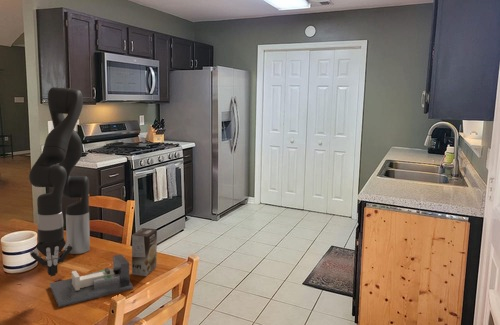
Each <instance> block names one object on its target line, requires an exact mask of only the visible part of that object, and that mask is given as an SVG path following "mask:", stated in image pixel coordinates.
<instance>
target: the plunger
mask: <svg viewBox="0 0 500 325" xmlns="http://www.w3.org/2000/svg"><path fill="white" fill-rule="evenodd" d="M109 269H110V268H109V267H105V268H104V270H105V271H104V272H99V271H98V272H99V273H95V274H90V273H89V274H90V275H89V274H85V275H81V276H80V274H79V273H78V272H77V270H72V271H71V278H72V285H73V287H74V289H75V291H77V290H80V288H83V287H87V286H91V285H93V280H94V279H98V278H103V277H104V276H109V275H111V276H112V275H114V272H113V271H112V270H109Z"/></svg>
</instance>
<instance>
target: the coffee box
mask: <svg viewBox="0 0 500 325" xmlns="http://www.w3.org/2000/svg"><path fill="white" fill-rule="evenodd" d="M157 241H158V229H156V228H148V227H147V228H145V227H143V228H141V229H138V230H137V231H136V232H134V233H133V234H131V275H134V276H141V277H147V276H149V274H150V273H152V271H154V270H155V269H156V268H157V259H158V258H157V254H158V251H157V249H158V242H157Z"/></svg>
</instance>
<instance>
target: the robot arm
mask: <svg viewBox="0 0 500 325" xmlns="http://www.w3.org/2000/svg"><path fill="white" fill-rule="evenodd" d="M83 105H84V97H83V93H82V91H81V90H80V89H76V88H70V87H69V88H68V87H67V88H66V87H56V86H54V87H51V88H49V90H48V93H47V106H48V110H49V114H50V119H51V121H52V126H53V129H51V130H50V131H49V133H48V134H47V136H46V138H45V141H44V145H43V148H42V151H41V153H40V155H39V156H38V158H37V159H36V161H35V163H34V164H33V165H32V167H31V169H30V171H29V176H28V178H29V182H30V184H31V185H32V186H34V187H36V188H53V189H52V191H51V192H46V193H42V194H40V195H39V196H37V200H36V202H37V218H36V219H37V220H36V223H37V244H36V247H35V248H34V249H33V250H30V251H29V255H30V257H31V258H32V259H34V260H35V261H36V262H37V263H38V264H40V265H41V266H42V267H45V266H46V270H47V274H48V276H50V277H55V276H56V274H58V270H59V269H58V264H60V263H63V262H64V261H65V259H66V258H67V256H68V255H69V254H70V255H79V254H84V253H88V252H89V251H90V249H91V248H90V247H91V245H90V242H91V241H90V240H91V239H90V238H91V236H90V235H91V234H90V199H89V198H90V179H89V177H88V176H86V175H70V174H71V171H72V170H73V168H74V167H76V165H77V164H78V162H80V160H81V158H82V155H83V145H82V139H81V137H80V136H79V134H78V133H77V131H76V130H75V127H76V125H77V123H78V120H79V118H80V116H81V113H82V110H83ZM64 115H66V116H64ZM63 197H64V198H67V199H68V198H69V199H71V198H72V199H73V198H74V199H75V198H80V199H79V200H78V201H76V202H73V203H71V204H69V205H67V206H66V208H65V221H64V214H63ZM64 224H65V226H66V228H65V231H66V232H65V233H66V240H65V234H64ZM40 253H41V254H42V255H43V256H44V257H45V259H43V258H42V257H41V256H40Z"/></svg>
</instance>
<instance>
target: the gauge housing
mask: <svg viewBox="0 0 500 325" xmlns="http://www.w3.org/2000/svg"><path fill="white" fill-rule="evenodd" d="M112 258H113V259H112V260H113V261H112V263H113V264H112V267H113V268H108V269H109V270H112V271H113V272H114V275H112V276H111V275H109V276H104V277H103V278H98V279H94V280H93V285H91V286H87V287H83V288H80V290H77V291H75V289H74V287H73V285H72V277H71V278H67V279H62V280H58V281H54V282H50V283H49V288H50V291H51V293H52V295H53V297H54V300H55V301H56V304H57V307H58V308H62V307H67V306H71V305H75V304H77V303H82V302H86V301H89V300H93V299H98V298H101V297H107V296H110V295H115V294H118V293H122V292H126V291H128V290H129V291H130V290H133V289H134V288H133V283H132V282H131V281H130V262H129V261H128V260H127V259H126V257H125V256H124V255H122V253H121V254H115V255H113V257H112ZM104 271H105V269H101V270H98V271H94V272H91V273H90V272H89V273H88V275H90V274H95V273H99V272H104Z"/></svg>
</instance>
